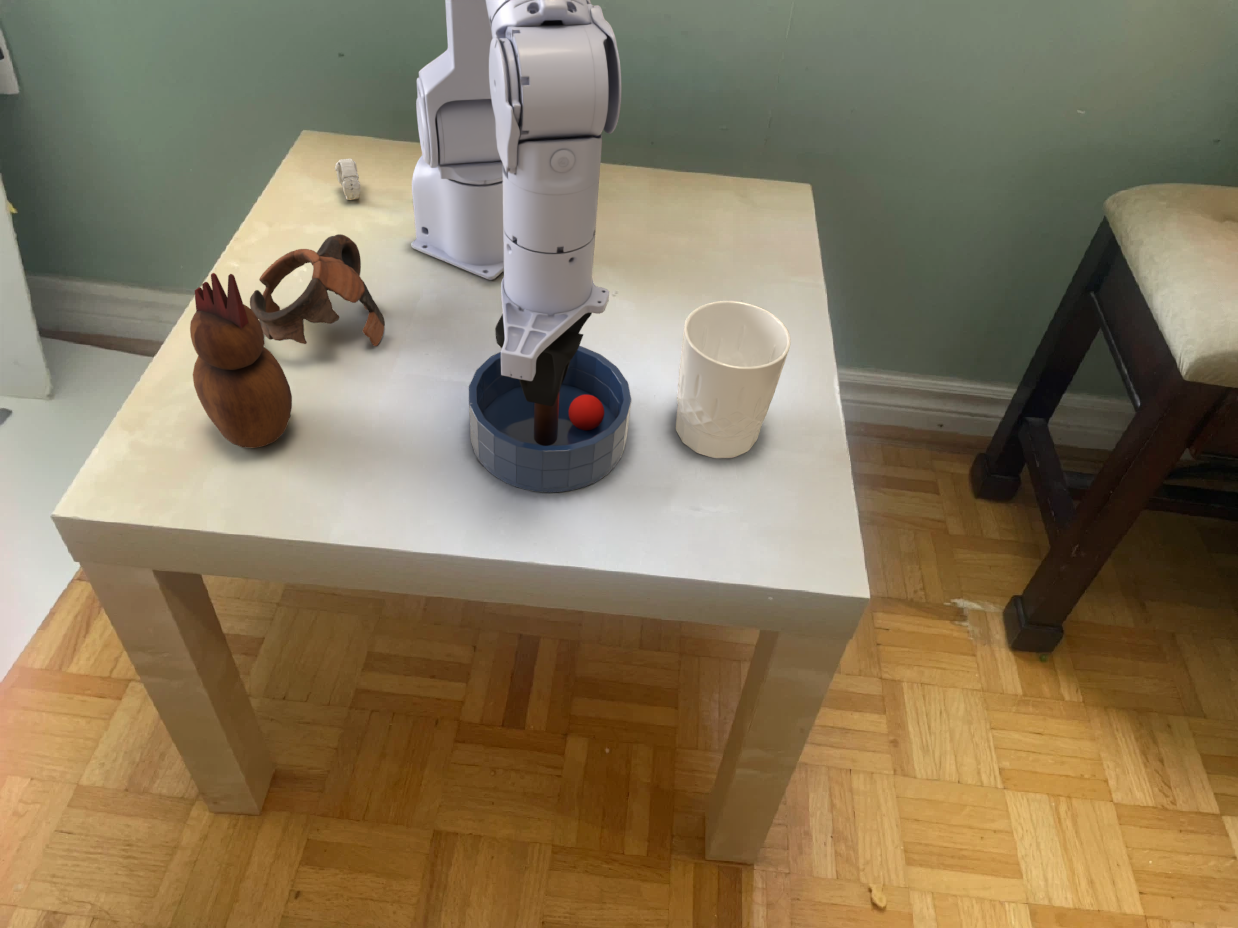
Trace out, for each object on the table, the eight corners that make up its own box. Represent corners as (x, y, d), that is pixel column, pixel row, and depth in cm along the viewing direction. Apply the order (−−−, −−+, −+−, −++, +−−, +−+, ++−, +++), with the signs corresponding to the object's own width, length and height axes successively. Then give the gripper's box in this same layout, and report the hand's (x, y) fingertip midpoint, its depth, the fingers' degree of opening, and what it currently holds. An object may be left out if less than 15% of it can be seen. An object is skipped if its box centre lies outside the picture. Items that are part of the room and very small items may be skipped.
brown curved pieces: (381, 374, 76) (315, 315, 70) (293, 391, 80) (223, 337, 74) (409, 263, 82) (351, 199, 76) (326, 284, 86) (264, 224, 79)
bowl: (439, 450, 70) (435, 408, 67) (526, 364, 78) (526, 322, 75) (575, 516, 67) (578, 475, 64) (652, 419, 75) (658, 378, 71)
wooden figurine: (313, 436, 70) (276, 273, 59) (244, 472, 67) (191, 308, 56) (265, 390, 73) (221, 227, 62) (197, 423, 70) (139, 258, 59)
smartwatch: (365, 205, 93) (360, 168, 90) (343, 207, 92) (337, 171, 89) (359, 187, 95) (354, 151, 92) (337, 189, 94) (332, 153, 91)
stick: (529, 440, 70) (530, 337, 62) (541, 426, 71) (544, 324, 64) (549, 449, 69) (553, 347, 62) (561, 435, 70) (566, 333, 63)
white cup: (737, 480, 71) (762, 383, 63) (650, 436, 73) (664, 339, 66) (780, 422, 76) (807, 326, 68) (696, 384, 78) (715, 287, 71)
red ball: (561, 428, 72) (562, 402, 70) (579, 408, 74) (581, 382, 72) (591, 442, 72) (594, 416, 69) (609, 421, 73) (611, 396, 71)
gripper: (585, 308, 51) (574, 472, 61) (635, 181, 61) (619, 340, 71) (464, 284, 52) (472, 450, 62) (533, 162, 62) (531, 322, 72)
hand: (544, 390), depth 66 cm, fingers closed on stick, 2 cm apart
